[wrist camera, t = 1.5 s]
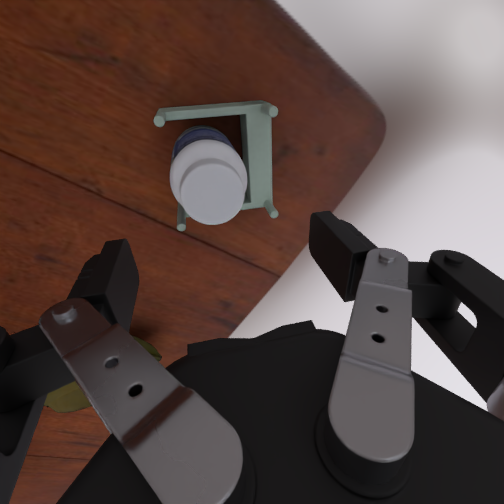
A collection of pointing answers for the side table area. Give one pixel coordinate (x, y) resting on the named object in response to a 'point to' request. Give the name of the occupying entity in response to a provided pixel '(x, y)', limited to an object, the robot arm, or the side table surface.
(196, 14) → the side table surface
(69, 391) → the fruit
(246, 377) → the robot arm
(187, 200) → the pill bottle
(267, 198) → the rack
